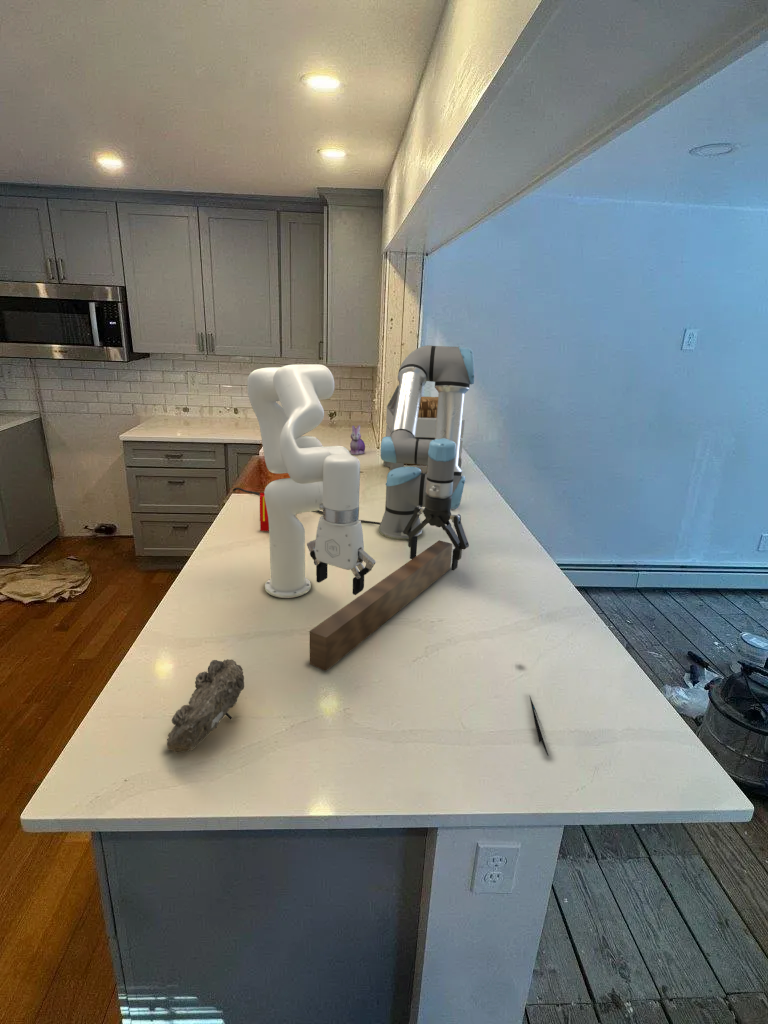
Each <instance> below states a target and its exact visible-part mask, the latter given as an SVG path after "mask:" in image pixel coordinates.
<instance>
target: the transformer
mask: <svg viewBox="0 0 768 1024" xmlns="http://www.w3.org/2000/svg"><path fill="white" fill-rule="evenodd" d="M398 390H399V384H398V385H397V386H396V388H395V390H394V392H393V394H392V395H391V398H390V400H389V402H388V404H387V405H386V413H385V414H386V415H385V423H386V428H385V437H388V436H390V434H391V428H392V423H393V417H394V412H395V406H396V401H397V395H398ZM437 407H438V396H421V400H420V407H419V414H418V421H417V428H416V434H415V439H425V440H435V430H436V418H437ZM464 429H465V419H464V418H462V425H461V436H460V447H459V458H458V466H459V468H460V469H461V470H462V461H463V460H462V453H463V442H464V441H463V440H462V439H463V438H464V431H465V430H464ZM383 466H384V467H388V468H389V472H390V471H391V470H393V469H396V468H400V467H405V466H406V467H417V466H418V467H428V465H418V464H407V463H392V462H386V461H383Z"/></svg>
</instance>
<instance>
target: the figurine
mask: <svg viewBox="0 0 768 1024" xmlns="http://www.w3.org/2000/svg"><path fill="white" fill-rule="evenodd" d="M360 431H361V425H360V424H358V425H357V426H355V425H352V426H351V433H350V439H351V441H350V443H349V447H350V449H349V452H350V454H351V455H354V456H355V455H362V454H365V451H366V444H365V442H364V440H363V439H362V435H361V433H360Z"/></svg>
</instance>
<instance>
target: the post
mask: <svg viewBox="0 0 768 1024" xmlns="http://www.w3.org/2000/svg"><path fill="white" fill-rule="evenodd" d="M452 556H453V543H452V542H447V541H443V540H438V541H436V542H435V543H433V544H432V545H430V546H429V547H427V548H426V549H424V550H423V551H422V552H420V553H419V554H416V557H414V558H413V559H410V560H409V561H406V563H405V564H403V565H402V566H400V567H399V568H397V569H396V570H394V571H393V572H392V573H390V574H389V575H387V576H386V577H384V578H383V579H382V580H380V581H379V582H377V583H376V584H374V585H373V586H372V587H370V588H368V589H367V590H366V591H365V592H363V593H362V594H360V595H359V596H357V597H356V598H354V599H353V600H351V601H350V602H349V603H347V604H346V605H345V606H343V607H341V608H340V609H338V610H337V611H336V612H334V613H333V614H332V615H330V616H328V618H326V619H324V620H323V621H322V622H320V623H318V624H317V625H316V626H314V627H313V628H311V629H310V630H309V665H311V666H313V667H315V668H318V669H320V670H322V671H325V672H327V671H328V670H330V669H331V668H332V667H333V666H334V665H336V664H337V663H338V662H340V660H342V659H343V658H344V657H345V656H346V655H348V654H349V653H350V652H351V651H352V650H354V649H355V648H357V646H359V645H360V644H361V643H362V642H364V641H365V640H366V639H367V638H368V637H369V636H371V635H373V633H375V632H376V631H377V630H378V629H379V628H380V627H382V626H383V625H384V624H385V623H387V622H388V621H389V620H390V619H392V618H393V617H394V616H395V615H397V613H398V612H400V611H401V610H402V609H404V608H405V607H406V606H407V605H409V604H410V603H411V602H412V601H413V600H415V599H416V598H418V596H419V595H420V594H422V593H423V592H424V591H426V590H427V589H428V588H429V587H431V586H432V585H433V584H434V583H435V582H437V580H439V579H440V578H441V577H442V576H444V575H445V574H446V573H447V572H449V571H451V566H452Z"/></svg>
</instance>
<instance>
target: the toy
mask: <svg viewBox="0 0 768 1024" xmlns="http://www.w3.org/2000/svg"><path fill="white" fill-rule="evenodd" d="M259 493H260V495H259V526H260V528H259V529H260V531H259V532H269V521H268V513H267V508H266V503H265V497H264V492H259Z"/></svg>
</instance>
